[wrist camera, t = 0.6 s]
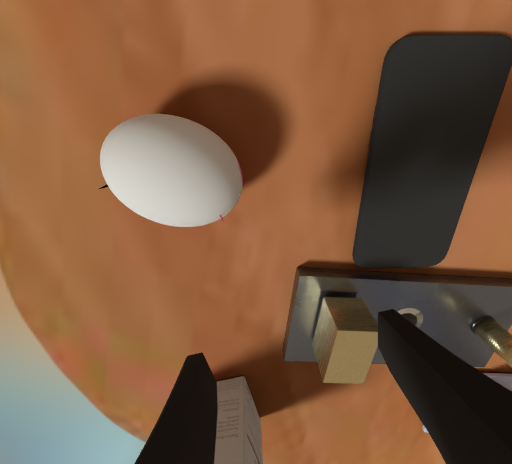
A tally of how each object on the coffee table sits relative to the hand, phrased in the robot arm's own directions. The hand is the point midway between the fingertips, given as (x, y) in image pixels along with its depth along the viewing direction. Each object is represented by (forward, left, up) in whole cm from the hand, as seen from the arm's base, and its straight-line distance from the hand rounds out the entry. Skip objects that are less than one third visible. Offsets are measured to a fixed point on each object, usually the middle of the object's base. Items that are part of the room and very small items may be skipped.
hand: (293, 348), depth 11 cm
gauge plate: (-7, -12, -10) cm, 17 cm away
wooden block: (-6, -6, -8) cm, 12 cm away
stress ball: (+5, +6, -10) cm, 13 cm away
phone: (+6, -9, -10) cm, 15 cm away
